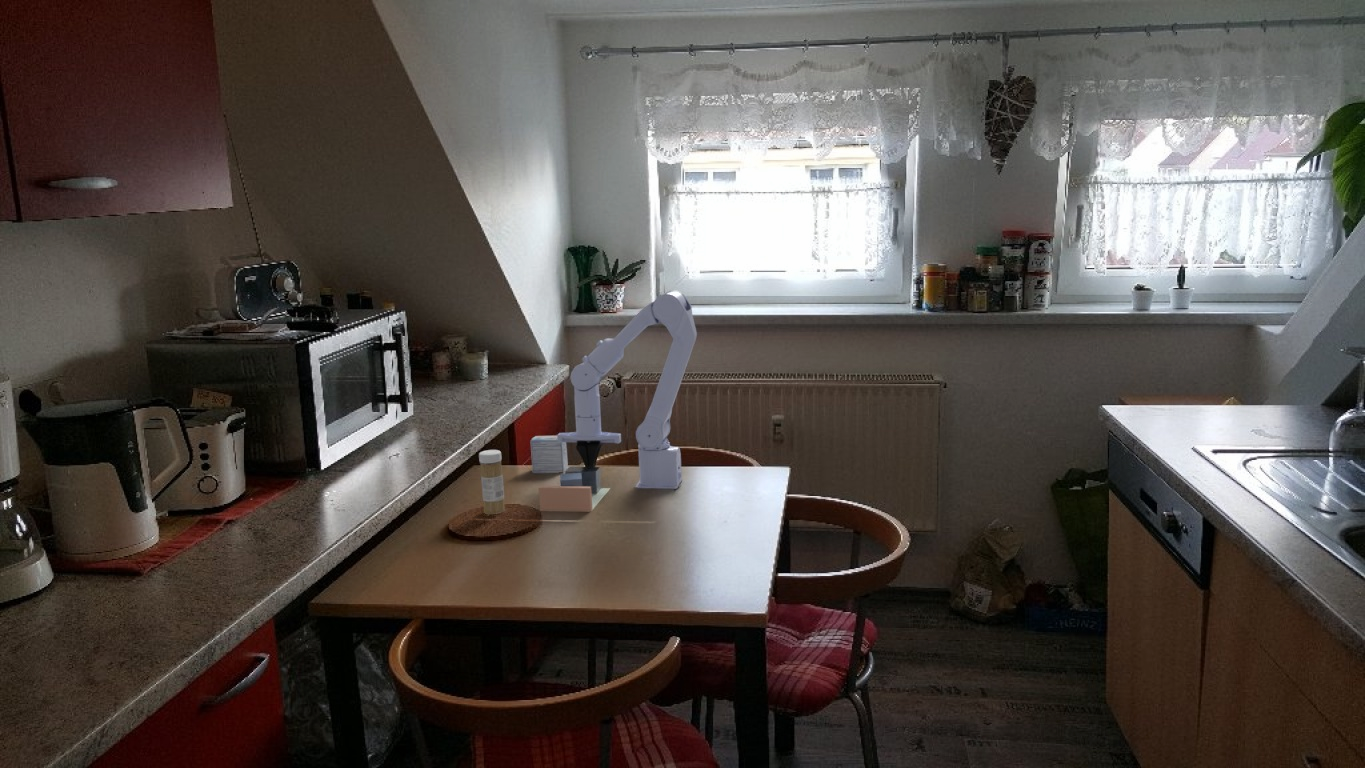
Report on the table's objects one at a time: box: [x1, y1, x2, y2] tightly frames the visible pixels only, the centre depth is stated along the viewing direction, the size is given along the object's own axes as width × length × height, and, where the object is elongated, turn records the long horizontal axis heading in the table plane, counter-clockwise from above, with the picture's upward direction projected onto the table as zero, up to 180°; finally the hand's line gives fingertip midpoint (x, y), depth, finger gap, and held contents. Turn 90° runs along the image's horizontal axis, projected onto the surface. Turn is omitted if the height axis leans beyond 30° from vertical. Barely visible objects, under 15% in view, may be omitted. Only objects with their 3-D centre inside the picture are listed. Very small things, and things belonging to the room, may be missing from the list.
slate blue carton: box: [559, 473, 582, 486], centre depth 208 cm, size 4×5×6 cm
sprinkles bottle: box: [478, 449, 506, 515], centre depth 203 cm, size 5×5×14 cm
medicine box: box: [529, 435, 569, 474], centre depth 236 cm, size 8×4×9 cm, turn 84°
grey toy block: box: [564, 466, 602, 494], centre depth 217 cm, size 7×4×5 cm, turn 80°
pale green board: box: [538, 485, 611, 513], centre depth 211 cm, size 11×17×5 cm, turn 170°
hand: (590, 473), depth 224 cm, fingers closed
